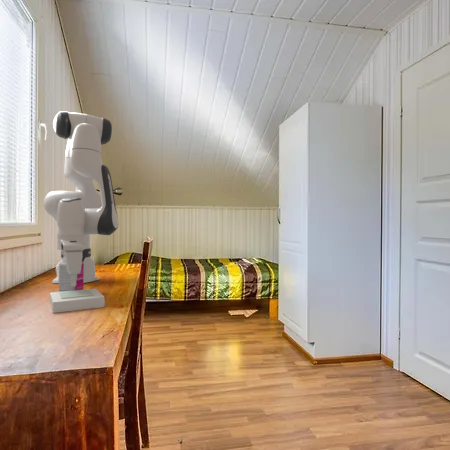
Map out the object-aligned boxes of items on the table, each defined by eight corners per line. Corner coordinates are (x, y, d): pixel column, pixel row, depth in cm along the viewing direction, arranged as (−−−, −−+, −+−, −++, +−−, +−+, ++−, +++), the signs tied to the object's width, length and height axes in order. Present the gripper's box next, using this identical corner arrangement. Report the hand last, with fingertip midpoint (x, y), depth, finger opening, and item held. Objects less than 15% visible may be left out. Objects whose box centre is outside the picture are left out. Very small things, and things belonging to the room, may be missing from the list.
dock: (49, 301, 115) (49, 291, 115) (95, 296, 121) (95, 287, 121) (52, 312, 100) (52, 301, 100) (104, 306, 107) (104, 296, 107)
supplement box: (73, 298, 119) (73, 264, 119) (58, 297, 120) (58, 264, 120) (84, 295, 124) (84, 262, 124) (69, 294, 126) (69, 262, 126)
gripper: (59, 243, 130) (59, 280, 130) (63, 246, 112) (64, 289, 112) (77, 242, 133) (77, 279, 133) (85, 245, 115) (85, 287, 115)
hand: (71, 284), depth 122 cm, fingers closed on supplement box, 8 cm apart
